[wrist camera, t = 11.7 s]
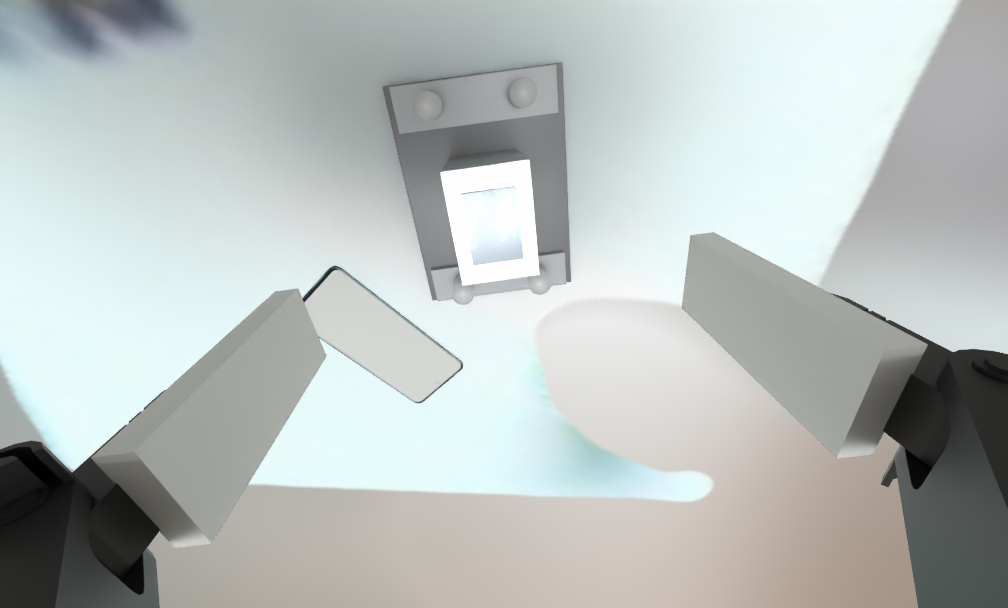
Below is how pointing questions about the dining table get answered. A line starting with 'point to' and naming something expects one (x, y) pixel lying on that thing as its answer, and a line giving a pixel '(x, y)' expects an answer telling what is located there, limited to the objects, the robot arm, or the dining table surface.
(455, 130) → the grey knobbed plate
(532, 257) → the block
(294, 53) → the dining table surface
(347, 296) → the smartphone
